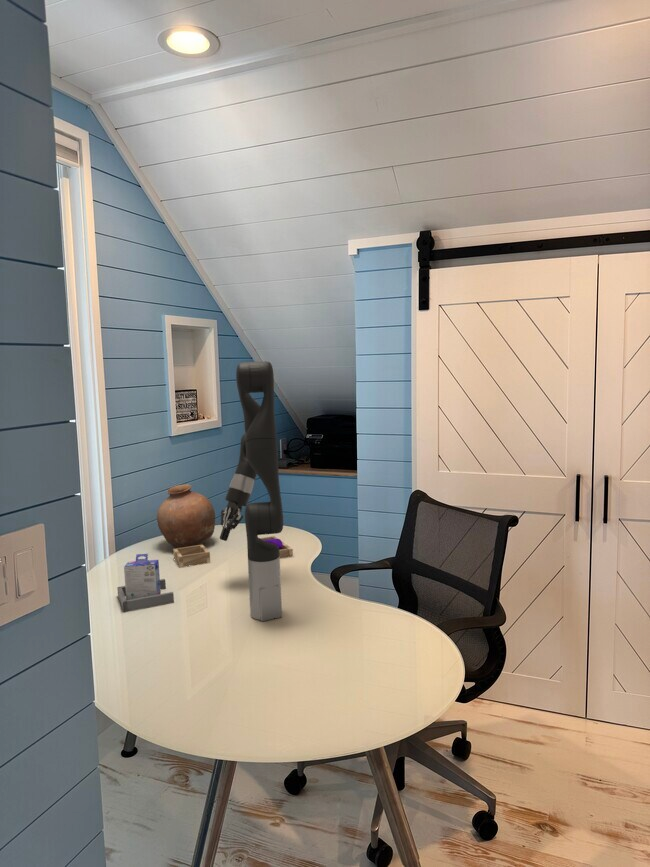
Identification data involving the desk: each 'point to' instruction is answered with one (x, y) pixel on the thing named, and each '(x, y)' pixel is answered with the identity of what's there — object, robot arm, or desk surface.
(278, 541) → the crystal
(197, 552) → the wooden tray
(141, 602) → the bay
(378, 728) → the desk surface
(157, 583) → the ink cartridge box
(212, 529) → the pottery
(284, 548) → the crystal cradle
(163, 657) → the desk surface
